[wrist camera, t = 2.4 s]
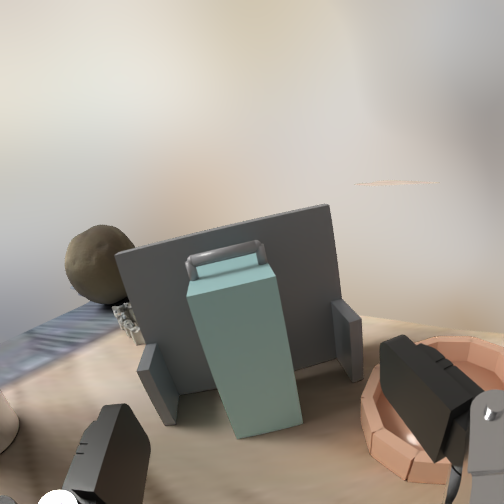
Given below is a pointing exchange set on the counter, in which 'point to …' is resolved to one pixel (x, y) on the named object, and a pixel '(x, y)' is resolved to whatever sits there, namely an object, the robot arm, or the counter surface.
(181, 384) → the screen
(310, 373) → the counter surface
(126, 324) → the miniature stone ruin
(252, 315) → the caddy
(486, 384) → the dish
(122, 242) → the cantaloupe
